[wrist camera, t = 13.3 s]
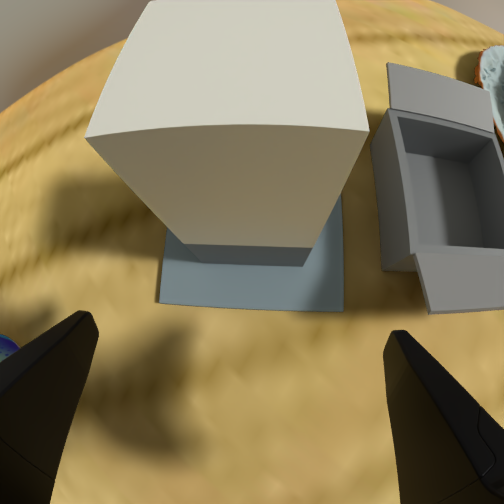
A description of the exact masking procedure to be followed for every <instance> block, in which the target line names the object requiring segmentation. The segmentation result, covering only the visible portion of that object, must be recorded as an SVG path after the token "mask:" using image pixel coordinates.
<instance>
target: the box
mask: <svg viewBox="0 0 504 504" xmlns="http://www.w3.org/2000/svg"><path fill="white" fill-rule="evenodd" d="M369 132H370V131H369V125H368V120H367V115H366V110H365V105H364V100H363V96H362V91H361V87H360V83H359V79H358V74H357V70H356V67H355V63H354V59H353V55H352V52H351V48H350V44H349V41H348V38H347V34H346V31H345V28H344V25H343V21H342V18H341V15H340V12H339V9H338V6H337V3H336V1H335V0H156V1H151V2H149V3H148V5H147V6H146V8H145V10H144V11H143V13H142V14H141V16H140V18H139V20H138V21H137V23H136V25H135V27H134V29H133V30H132V32H131V34H130V35H129V37H128V39H127V41H126V43H125V45H124V47H123V48H122V50H121V52H120V54H119V56H118V58H117V60H116V62H115V64H114V67H113V69H112V71H111V73H110V75H109V77H108V79H107V82H106V84H105V86H104V88H103V91H102V93H101V95H100V98H99V100H98V103H97V105H96V108H95V110H94V113H93V115H92V118H91V120H90V123H89V126H88V129H87V131H86V134H85V137H84V138H85V139H86V140H87V141H88V143H89V144H90V145H91V146H92V147H93V148H94V149H95V150H96V152H97V153H98V154H99V155H100V156H101V157H102V158H103V159H104V160H105V161H106V163H107V164H108V165H109V166H110V167H111V168H112V169H113V170H114V171H115V172H116V174H117V175H118V176H119V177H120V178H121V179H122V180H123V181H124V182H125V183H126V184H127V185H128V186H129V188H130V189H131V190H132V191H133V192H134V193H135V194H136V195H137V196H138V197H139V198H140V199H141V200H142V201H143V202H144V203H145V204H146V206H147V207H148V208H149V209H150V210H151V211H152V212H153V213H154V214H155V215H156V216H157V217H158V218H159V219H160V220H161V221H162V222H163V223H164V224H165V225H166V226H167V227H168V228H169V229H170V230H171V231H172V233H173V234H174V235H175V236H176V237H177V238H178V239H179V240H180V241H181V242H182V243H183V244H184V245H185V246H186V247H187V248H188V249H189V250H190V251H191V252H192V253H193V254H194V255H195V256H196V257H197V258H198V259H199V260H200V261H201V262H202V263H207V264H233V265H261V266H291V267H303V266H304V264H305V262H306V260H307V258H308V256H309V254H310V252H311V250H312V249H313V247H314V245H315V243H316V241H317V239H318V237H319V235H320V233H321V231H322V229H323V227H324V225H325V223H326V221H327V219H328V217H329V215H330V213H331V211H332V209H333V207H334V205H335V203H336V201H337V199H338V197H339V195H340V193H341V191H342V189H343V187H344V185H345V183H346V181H347V179H348V177H349V175H350V173H351V170H352V168H353V166H354V164H355V162H356V160H357V158H358V156H359V154H360V151H361V149H362V147H363V145H364V143H365V141H366V138H367V136H368V134H369Z"/></svg>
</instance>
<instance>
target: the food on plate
mask: <svg viewBox="0 0 504 504" xmlns="http://www.w3.org/2000/svg"><path fill="white" fill-rule="evenodd" d="M483 50H484V51H481V52H480V53H479V57H478V60H479V63H478V65H477V66H476V68H475V75H476V77H475V78H474V81H475V84H476V83H477V82H478V81H479V83H478V84H479V85H480V86H481V88H482V89H484V90H487V91H489V92H490V97H491V104H492V112H493V121H494V123H495V126H496V129H497V134H498V135H499V136H500V138H501V139H502V141H503V143H504V46H503V45H495V46H494V47H493V46H491V47H489V48H488V49H483Z"/></svg>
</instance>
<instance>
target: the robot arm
mask: <svg viewBox="0 0 504 504" xmlns="http://www.w3.org/2000/svg"><path fill="white" fill-rule="evenodd" d="M98 337H99V331H98V328H97V326H96V323H95V321H94V318H93V316H92V314H91V313H90V312H88V311H82V310H79V311H77V312H75V313H74V314H72V315H70V316H69V317H67V318H66V319H64V320H63V321H61V322H60V323H58V324H56V325H55V326H53V327H52V328H50V329H49V330H47V331H46V332H44V333H43V334H41V335H40V336H38V337H37V338H35V339H34V340H32V341H31V342H29V343H28V344H26V345H25V346H23V347H22V348H20V349H19V350H17V351H16V352H14V353H13V354H11V355H10V356H8V357H7V358H6V359H4V360H3V361H1V362H0V504H50V500H51V496H52V492H53V487H54V483H55V479H56V475H57V471H58V467H59V463H60V460H61V456H62V453H63V449H64V446H65V442H66V439H67V436H68V433H69V429H70V426H71V423H72V420H73V417H74V414H75V411H76V408H77V405H78V402H79V399H80V396H81V394H82V391H83V388H84V385H85V383H86V380H87V377H88V373H89V370H90V366H91V362H92V359H93V355H94V351H95V348H96V344H97V341H98ZM383 361H384V372H385V384H386V397H387V405H388V411H389V417H390V423H391V429H392V436H393V442H394V449H395V457H396V465H397V473H398V482H399V492H400V504H504V429H503V428H502V427H501V426H500V425H499V424H498V423H497V422H496V421H495V420H494V419H493V418H492V417H491V416H490V415H489V414H488V413H487V412H486V411H485V409H484V408H483V407H482V406H480V404H479V403H478V402H477V401H476V400H475V399H474V398H473V397H472V396H471V395H470V394H469V393H468V392H467V391H466V390H465V389H464V388H463V387H462V386H461V384H460V383H459V382H458V381H457V380H456V379H455V378H454V377H453V376H452V375H451V374H450V373H449V372H448V371H447V370H446V369H445V368H444V367H443V366H442V365H441V364H440V363H439V362H438V361H437V360H436V359H435V358H434V357H433V356H432V355H431V354H430V353H429V352H428V351H427V350H426V349H425V348H424V347H423V346H422V345H420V344H419V343H418V342H417V341H416V340H415V339H414V338H413V337H412V336H411V335H410V334H409V333H408V332H407V331H405V330H394V331H392V332H391V333H390V336H389V338H388V341H387V343H386V345H385V348H384V351H383Z"/></svg>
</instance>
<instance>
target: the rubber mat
mask: <svg viewBox="0 0 504 504" xmlns="http://www.w3.org/2000/svg"><path fill="white" fill-rule="evenodd" d="M159 303H162V304H174V305H187V306H200V307H216V308H233V309H253V310H277V311H316V312H343V309H344V258H343V224H342V204H341V193H340V195H339V197H338V199H337V201H336V203H335V205H334V207H333V209H332V211H331V213H330V215H329V217H328V219H327V221H326V223H325V225H324V227H323V229H322V231H321V233H320V235H319V237H318V239H317V241H316V243H315V245H314V247H313V249H312V250H311V252H310V254H309V256H308V258H307V260H306V262H305V264H304V266H303V267H291V266H261V265H233V264H207V263H202V262H201V261H200V260H199V259H198V258H197V257H196V256H195V255H194V254H193V253H192V252H191V251H190V250H189V249H188V248H187V247H186V246H185V245H184V244H183V243H182V242H181V241H180V240H179V239H178V238H177V237H176V236H175V235H174V234H173V233H172V231H171V230H170V229H169V228H168V227H167V233H166V241H165V249H164V258H163V267H162V277H161V287H160V299H159Z"/></svg>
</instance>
